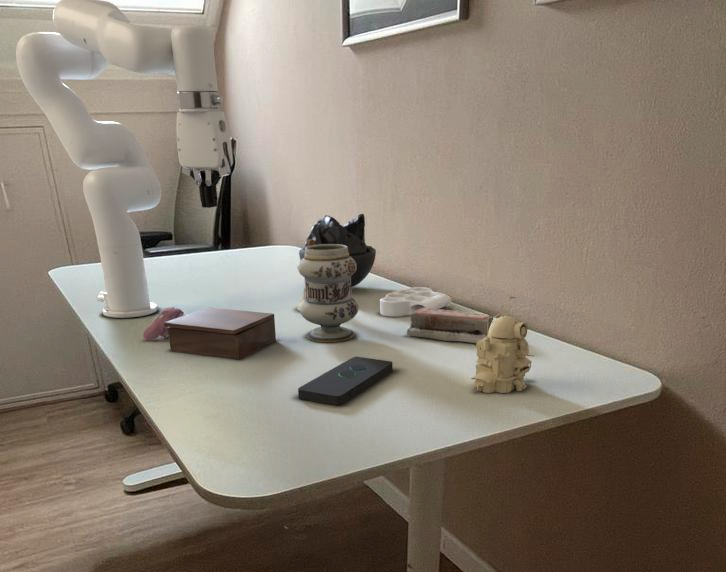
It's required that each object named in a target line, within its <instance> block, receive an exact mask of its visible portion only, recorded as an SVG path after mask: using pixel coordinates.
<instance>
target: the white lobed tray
mask: <svg viewBox="0 0 726 572" xmlns="http://www.w3.org/2000/svg"><path fill="white" fill-rule="evenodd" d="M451 304H452V298H451V297H450V296H449V295H448V294H446V293H443V292H441V291H440V292H438V291H433V288H430V287H427V286H413V287H409V288H404V289H397V290H394V291H393V292H389V293H386V294H385V295H384V297H382V298H379V313H380V315H381V316H383V317H389V318H397V317H405V316H406V317H407V316H411V314H412V313H414V312H415V311H417V310H419V309H420V308H432V309H440V310H441V309H442V308H445V307H447V306H449V305H451Z"/></svg>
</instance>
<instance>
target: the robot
mask: <svg viewBox="0 0 726 572" xmlns="http://www.w3.org/2000/svg"><path fill="white" fill-rule="evenodd" d="M513 299H517V297H515V296H512V295H510V294H509V298H508V301H511V300H513ZM509 306H510V303H507V306H506V307H505V306H504V305H501V312H500V313H498V314H497V315H496V314H495V316H493V317H491V318H493V321H492V323H491V326H490V328H489V332H488V324H487V337H485V338H484V339H482V340H479V341H478V342H477V343H475V347H476V357H477V360H476V364H475V375H474V376H473V377H471V378H470V379H471V380H474V387H476V392H483V393H485V394H490V393H495V392H496V393H500V394H507V393H510V392H512V391H513V390H515V391H516V392H522V391H523V390H525V389H526V388H528V385H527V384H526V382H525V380H526V381H528V382H530V381H531V379H530V378H529V379H528V378H527V377H526V378H525V376H526V373H529V372H530V370H531V368H532V360H531V359H530V358H528V357H535V355H534V354H529V353H530V348H529V342H528V341H527V339H526V338H527V335H528V330H529V325H528V323H527V322H520V321H518V320H517V319H516V318H515V317H513V316H510V315H508V313H509V312H508V311H509V310H507V311H506V315H504V311H505V310H506V309H508V308H509ZM504 307H505V308H504ZM500 314H501V316H499V315H500ZM487 315H488V318H489V315H490V314H487ZM497 316H499V317H497ZM495 317H497V318H495ZM494 318H495V319H494Z"/></svg>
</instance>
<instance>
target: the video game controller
mask: <svg viewBox="0 0 726 572" xmlns="http://www.w3.org/2000/svg"><path fill="white" fill-rule="evenodd" d="M184 312H185V311H183V310H181V309H180V308H178V307H177V308H175V307H174V306H172V307H166V308H164V309H162V310H161V312H160V313H159V314H158V315H157V316H156V317H155V319H153V321H152V322H151V323H150V325H149V326H147V327H146V328H145V329H144V330H143V333H142V337H143V340H145V341H146V342H148V341H153V340H155V339H157V338H158V337H159V336H160V337H161V338H163V339H166V338H167V337H168V329H167V327H164V322H167V321H170V320H173V319H176V318H179V317H182V316H184V315H185V313H184Z"/></svg>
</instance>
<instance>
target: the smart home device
mask: <svg viewBox="0 0 726 572" xmlns="http://www.w3.org/2000/svg"><path fill="white" fill-rule="evenodd" d="M393 367H394V366H393V361H390V360H385V359H378V358H377V359H376V358H370V357H364V356H353V357H351V358H349V359H347V360H345V361H343V362H342V363H340V364H338V365H336V366H335V367H333V368H331V369H329V370H328V371H326V372H324V373H322V374H320V375H319V376H317V377H315V378H314V379H311V380H310V381H308V382H307V383H305V384H303V385H301V386H300V387H298V388H297V395H298V399H299V400H305V401H310V402H316V403H322V404H327V405H334V406H341V405H343V404H344V403H346V402H348V401H349V400H350V399H352V398H354V397H356V396H357V395H358V394H360V393H361V392H363V391H365V390H366V389H367V388H369V387H371V386H372V385H374V384H375V383H377V382H378V381H380V380H381V379H383V378H384V377H387V376H388V375H389V374H390V373H392V372H393Z"/></svg>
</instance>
